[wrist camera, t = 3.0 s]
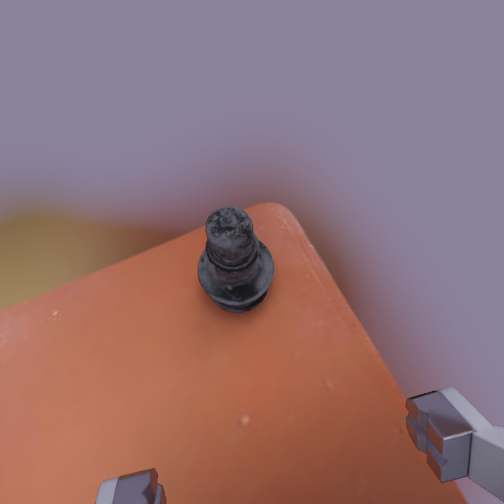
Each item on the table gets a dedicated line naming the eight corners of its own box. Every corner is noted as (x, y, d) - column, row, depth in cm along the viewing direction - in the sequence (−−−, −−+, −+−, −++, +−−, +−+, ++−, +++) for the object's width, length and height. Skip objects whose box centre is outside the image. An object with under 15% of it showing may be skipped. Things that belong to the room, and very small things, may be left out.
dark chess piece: (234, 239, 31) (221, 151, 20) (285, 277, 30) (302, 204, 19) (190, 287, 29) (149, 220, 18) (242, 330, 28) (233, 285, 17)
